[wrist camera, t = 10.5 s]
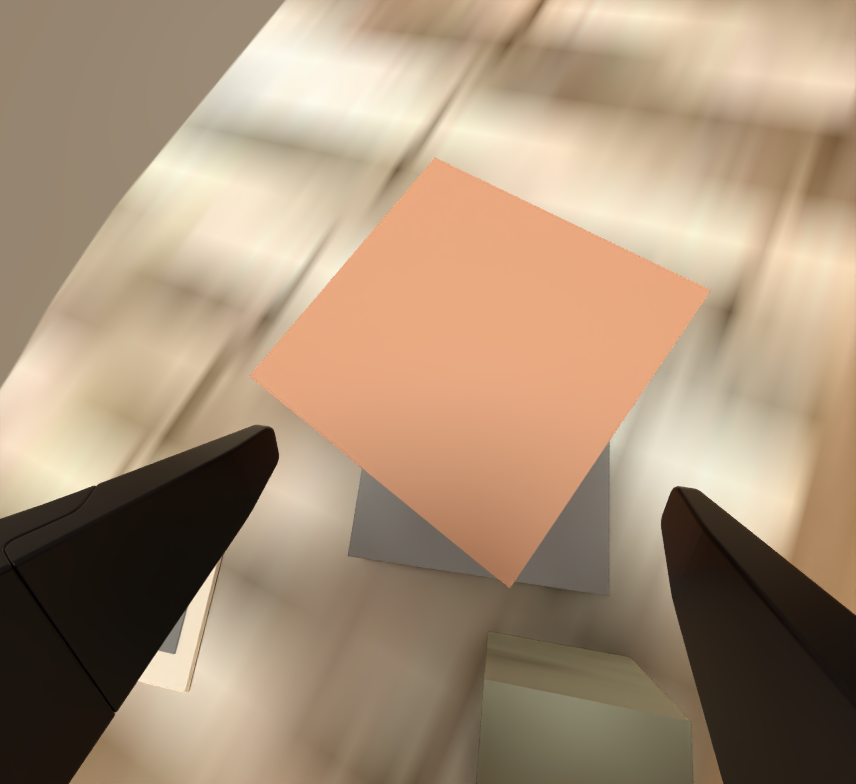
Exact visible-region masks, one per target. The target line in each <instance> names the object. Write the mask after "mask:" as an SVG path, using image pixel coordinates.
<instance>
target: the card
mask: <svg viewBox="0 0 856 784" xmlns="http://www.w3.org/2000/svg"><path fill="white" fill-rule="evenodd" d="M221 559H222V557H221ZM221 559H220V560H219V561H218V563H217V564H216V566H215V567H214V569H213V570H212V572H211V573H210V575H209V576H208V578H207V579H206V581H205V582H204V584H203V585H202V587H201V588H200V590H199V591H198V593H197V594H196V596H195V597H194V599H193V600H192V601H191V603H190V604H189V606H188V607H187V609H186V610H185V612H184V613H183V615H182V616H181V618H180V619H179V621H178V622H177V624H176V625H175V627H174V628H173V630H172V631H171V633H170V634H169V636H168V637H167V639H166V640H165V641H164V643H163V644H162V646H161V647H160V649H159V650H158V652H157V653H156V655H155V656H154V658H153V659H152V661H151V662H150V664H149V665H148V667H147V668H146V670H145V671H144V673H143V674H142V676H141V677H140V679H139V680H138V681H139V682H143V683H147V684H151V685H155V686H159V687H163V688H167V689H171V690H174V691H178V692H182V693H185V692H187V691H189V688H190V684H191V680H192V676H193V672H194V667H195V663H196V659H197V655H198V651H199V647H200V643H201V639H202V635H203V631H204V627H205V623H206V619H207V615H208V611H209V607H210V603H211V599H212V595H213V591H214V587H215V583H216V579H217V575H218V571H219V567H220V563H221Z"/></svg>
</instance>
